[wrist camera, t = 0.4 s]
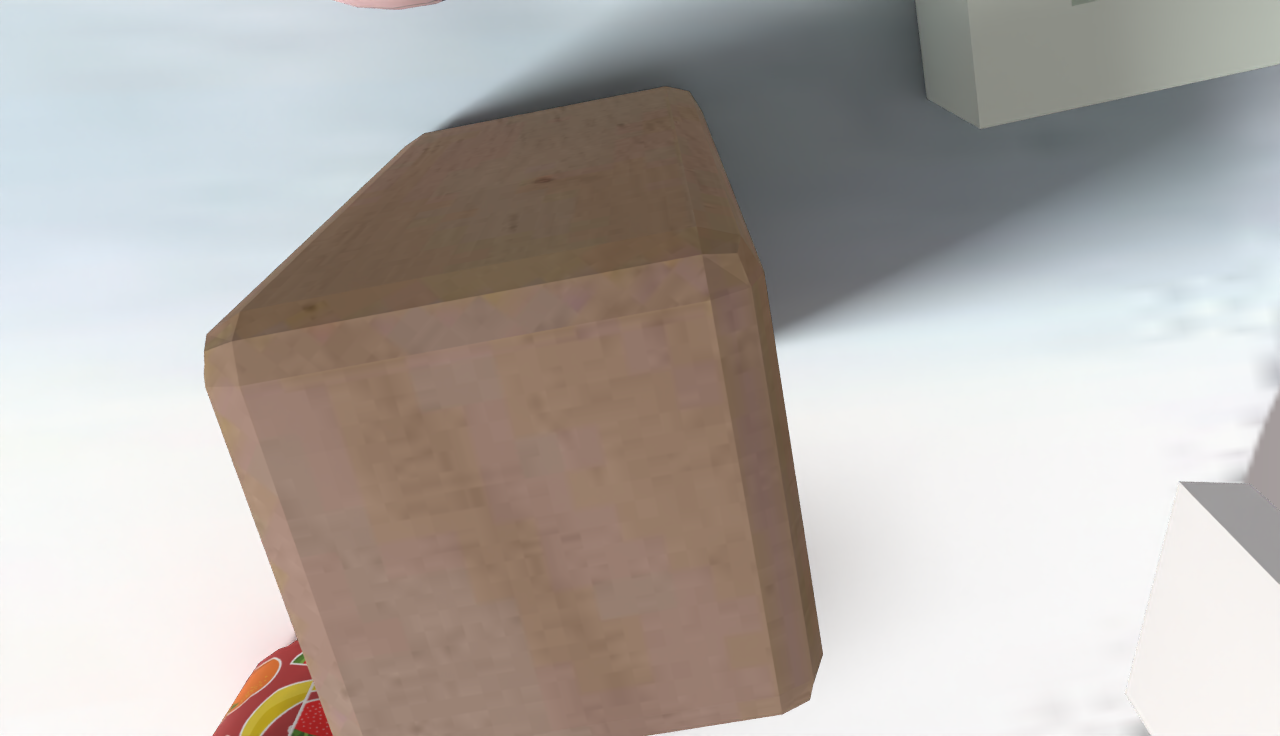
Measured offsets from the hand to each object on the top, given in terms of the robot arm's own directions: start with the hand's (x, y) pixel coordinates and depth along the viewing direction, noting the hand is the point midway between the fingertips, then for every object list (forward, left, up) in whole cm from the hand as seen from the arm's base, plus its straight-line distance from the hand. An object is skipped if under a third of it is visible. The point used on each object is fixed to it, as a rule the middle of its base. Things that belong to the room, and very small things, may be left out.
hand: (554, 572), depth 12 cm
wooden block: (+4, -2, -27) cm, 27 cm away
